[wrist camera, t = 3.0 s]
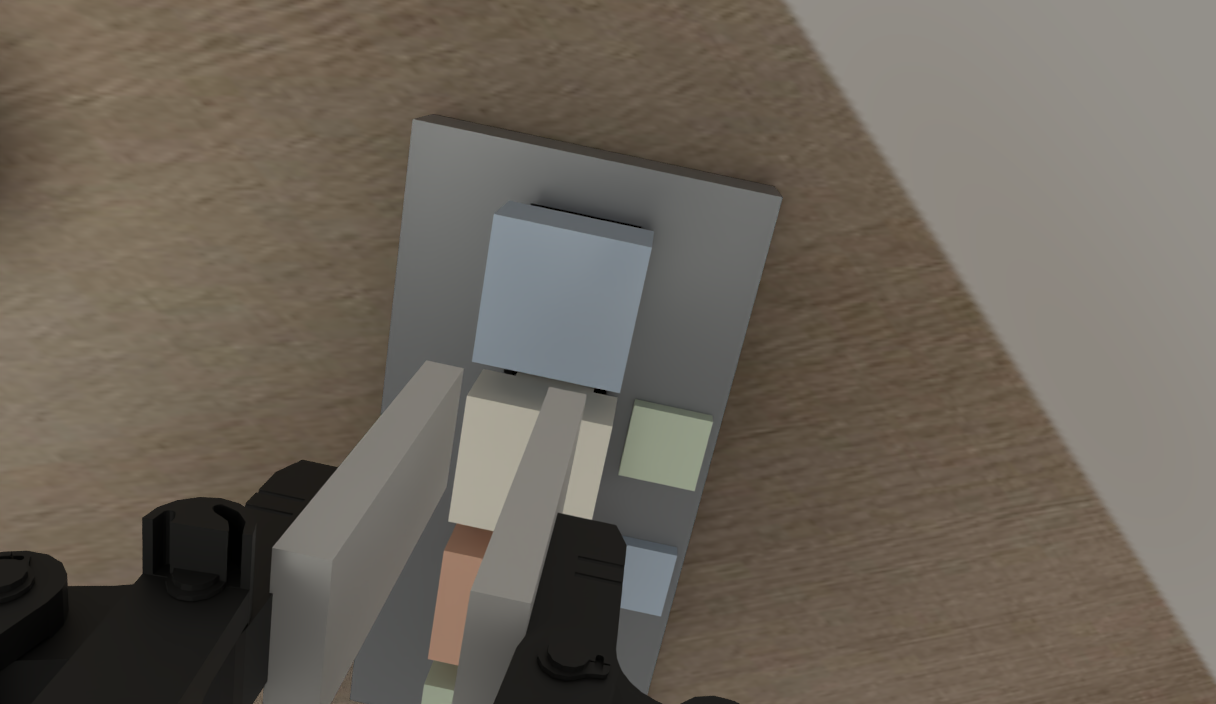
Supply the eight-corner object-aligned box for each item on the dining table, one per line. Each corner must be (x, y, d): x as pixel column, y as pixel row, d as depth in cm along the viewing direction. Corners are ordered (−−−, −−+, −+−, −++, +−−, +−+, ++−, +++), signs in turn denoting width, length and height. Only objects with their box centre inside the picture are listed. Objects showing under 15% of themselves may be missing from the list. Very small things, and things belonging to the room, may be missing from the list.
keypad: (632, 718, 39) (628, 771, 37) (369, 661, 40) (344, 709, 37) (774, 186, 30) (784, 200, 28) (433, 114, 31) (407, 120, 28)
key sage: (547, 711, 37) (528, 804, 32) (443, 688, 37) (410, 778, 32) (566, 625, 35) (549, 711, 31) (457, 602, 35) (424, 684, 31)
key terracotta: (571, 603, 35) (555, 686, 30) (460, 579, 35) (427, 658, 30) (592, 506, 33) (578, 579, 28) (476, 481, 33) (443, 550, 28)
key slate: (628, 342, 31) (619, 393, 26) (502, 315, 31) (471, 361, 26) (655, 216, 29) (651, 247, 24) (522, 188, 29) (493, 213, 24)
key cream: (598, 481, 33) (584, 550, 28) (480, 455, 33) (448, 521, 28) (622, 371, 31) (612, 426, 26) (497, 345, 31) (466, 395, 26)
